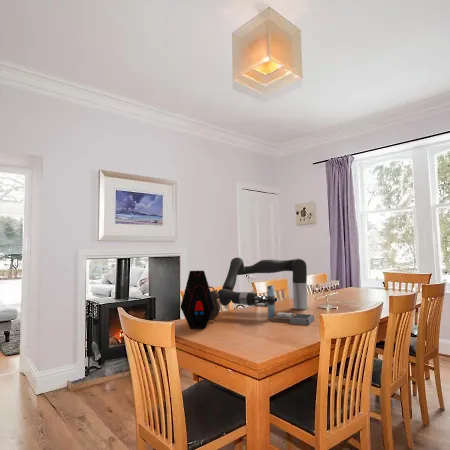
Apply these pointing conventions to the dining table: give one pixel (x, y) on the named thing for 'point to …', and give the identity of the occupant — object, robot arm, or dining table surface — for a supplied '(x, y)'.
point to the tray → (302, 319)
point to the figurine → (197, 301)
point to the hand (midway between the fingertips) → (275, 300)
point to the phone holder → (261, 304)
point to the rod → (271, 305)
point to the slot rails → (281, 319)
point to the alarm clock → (217, 304)
